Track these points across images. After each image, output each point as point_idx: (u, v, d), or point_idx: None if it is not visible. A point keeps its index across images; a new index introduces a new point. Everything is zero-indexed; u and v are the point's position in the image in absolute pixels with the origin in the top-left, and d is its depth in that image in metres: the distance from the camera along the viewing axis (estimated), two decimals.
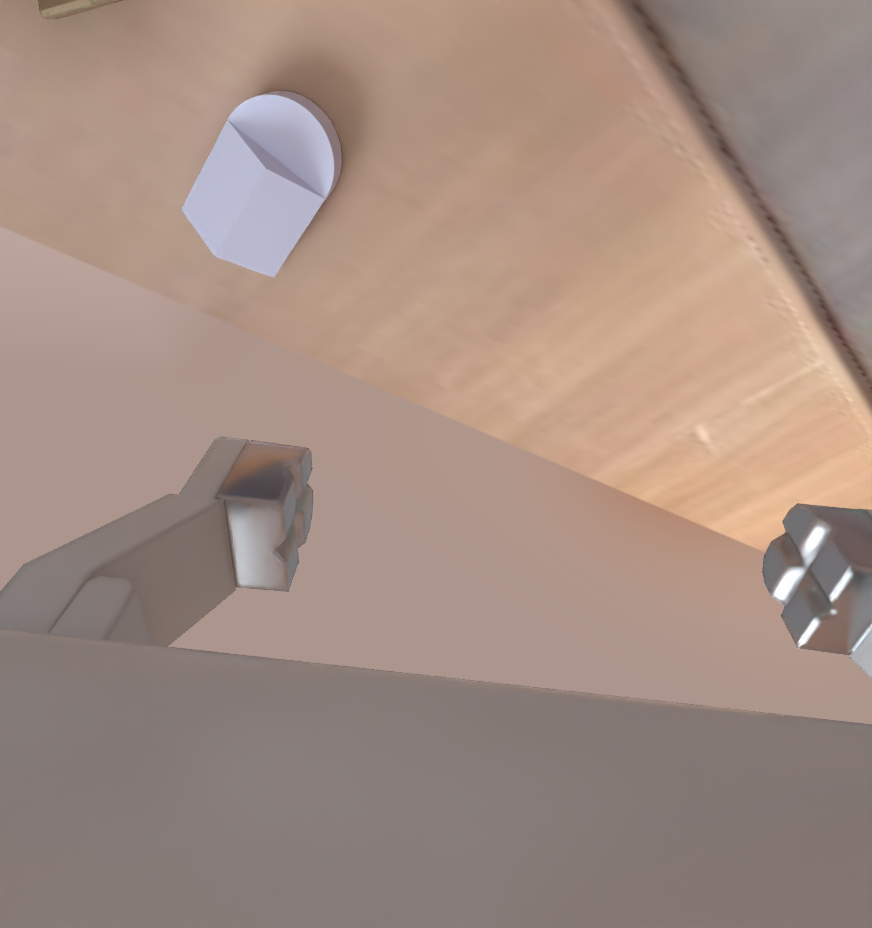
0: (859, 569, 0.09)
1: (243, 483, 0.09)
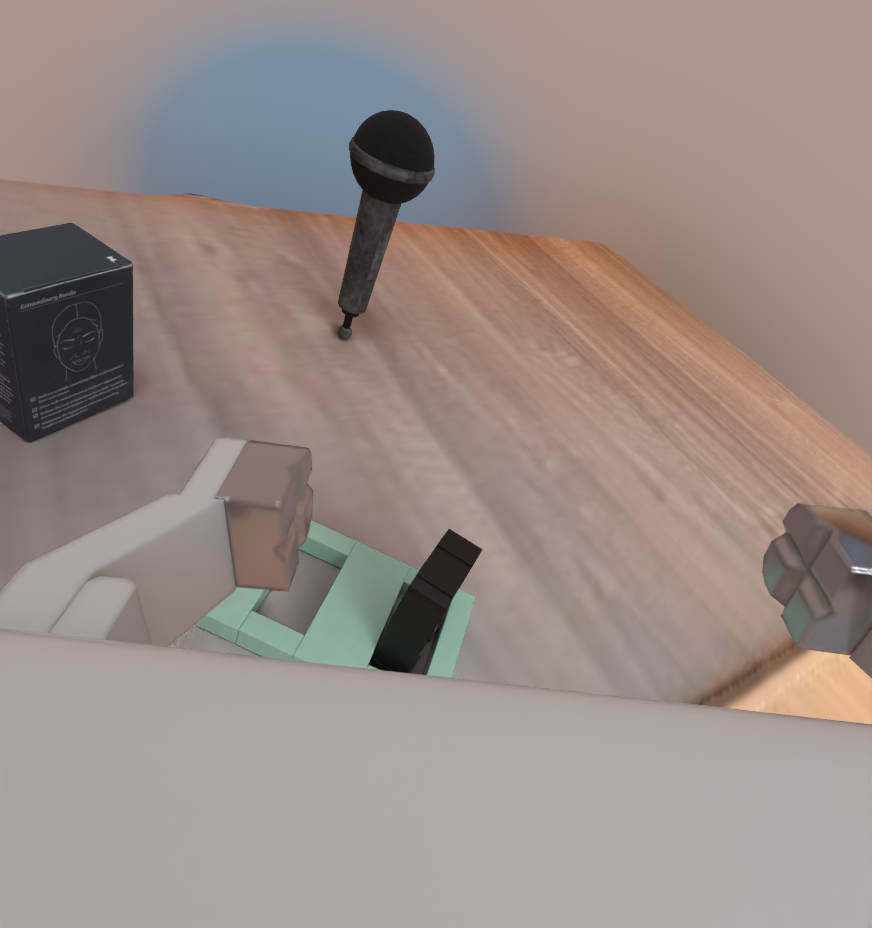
0: (859, 569, 0.09)
1: (243, 483, 0.09)
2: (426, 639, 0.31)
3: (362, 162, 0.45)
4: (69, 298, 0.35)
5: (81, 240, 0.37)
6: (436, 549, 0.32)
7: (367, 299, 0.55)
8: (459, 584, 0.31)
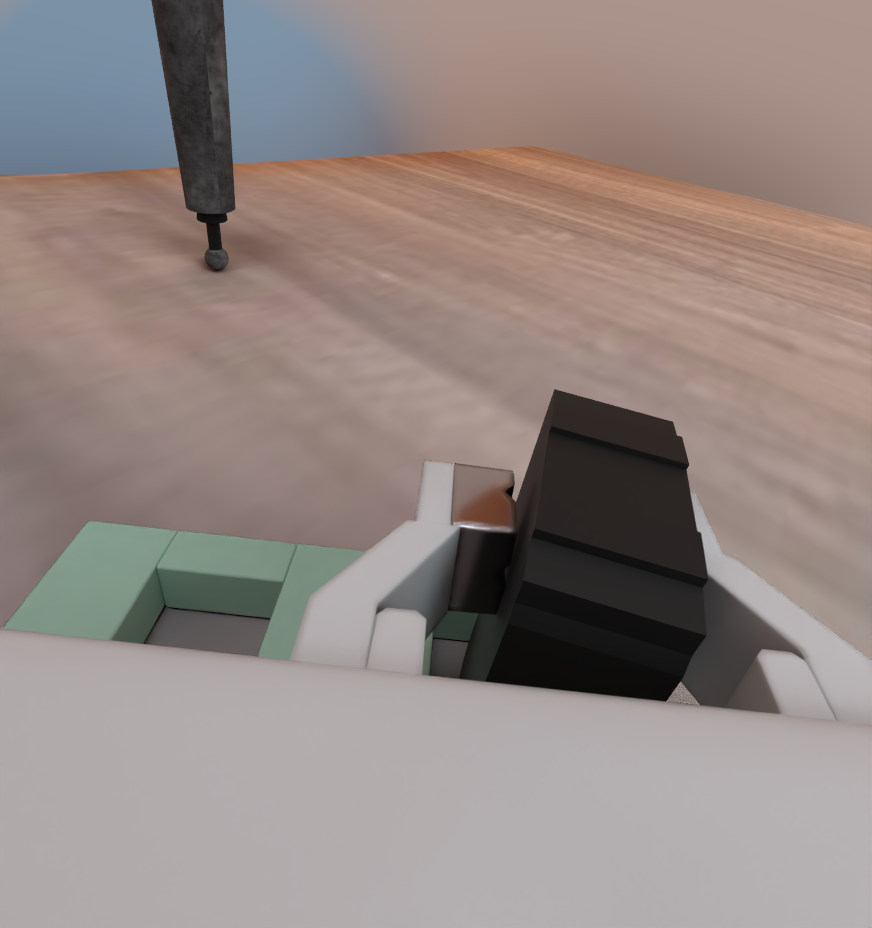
0: None
1: (471, 509, 0.09)
2: None
3: None
4: None
5: None
6: (554, 441, 0.09)
7: (229, 183, 0.33)
8: (692, 529, 0.08)
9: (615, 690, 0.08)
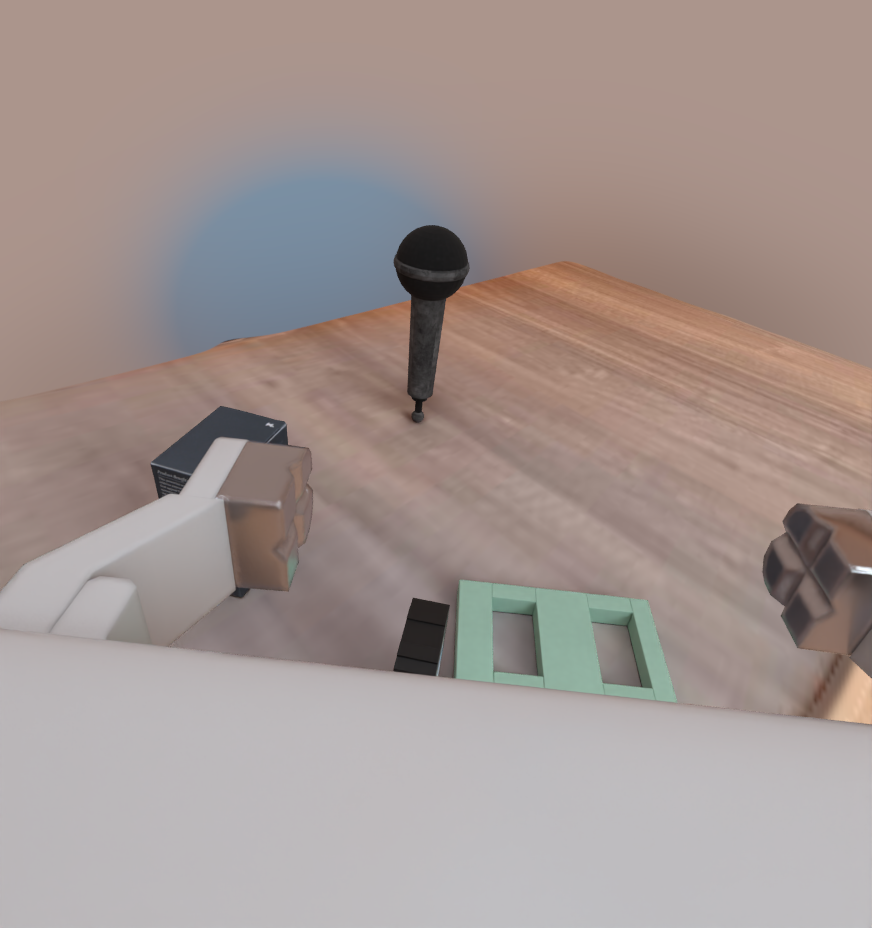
0: (859, 569, 0.09)
1: (243, 483, 0.09)
2: None
3: (414, 276, 0.53)
4: None
5: (238, 418, 0.43)
6: (407, 622, 0.33)
7: (433, 383, 0.62)
8: (439, 648, 0.32)
9: None
